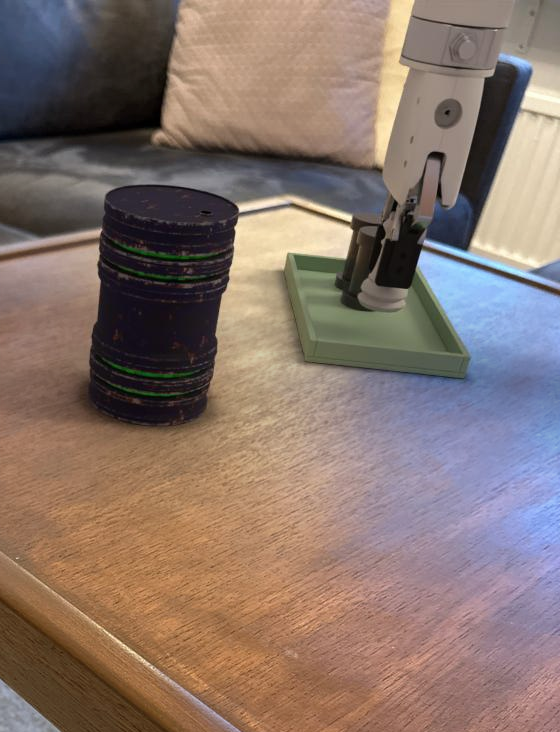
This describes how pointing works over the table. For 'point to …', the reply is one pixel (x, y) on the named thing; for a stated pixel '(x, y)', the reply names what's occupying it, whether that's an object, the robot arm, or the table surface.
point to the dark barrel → (159, 301)
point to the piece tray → (371, 324)
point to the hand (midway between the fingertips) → (388, 276)
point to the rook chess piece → (378, 295)
